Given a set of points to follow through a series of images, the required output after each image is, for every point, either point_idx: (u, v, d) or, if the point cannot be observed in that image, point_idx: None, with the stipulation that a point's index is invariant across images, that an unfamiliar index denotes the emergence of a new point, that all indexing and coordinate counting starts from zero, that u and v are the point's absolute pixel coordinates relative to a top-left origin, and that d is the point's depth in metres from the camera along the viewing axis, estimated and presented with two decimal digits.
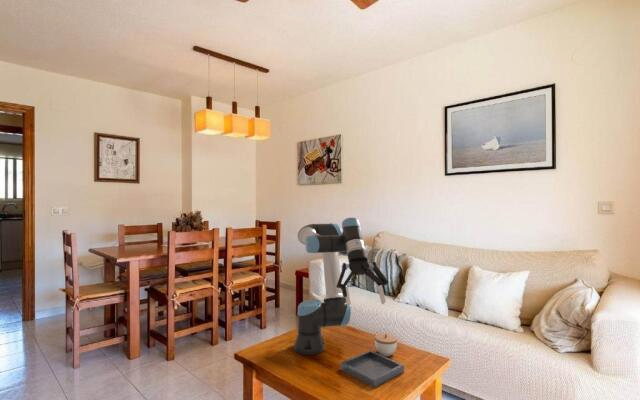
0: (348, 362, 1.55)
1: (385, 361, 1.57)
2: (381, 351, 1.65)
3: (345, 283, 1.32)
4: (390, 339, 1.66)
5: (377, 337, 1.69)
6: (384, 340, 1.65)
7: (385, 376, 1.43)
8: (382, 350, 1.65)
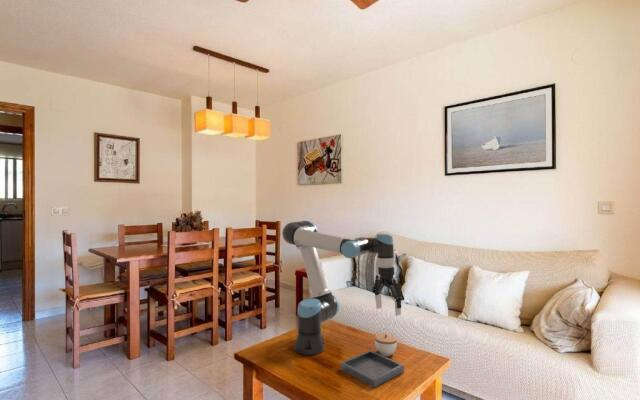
0: (348, 362, 1.55)
1: (385, 361, 1.57)
2: (381, 351, 1.65)
3: None
4: (390, 339, 1.66)
5: (377, 337, 1.69)
6: (384, 340, 1.65)
7: (385, 376, 1.43)
8: (382, 350, 1.65)
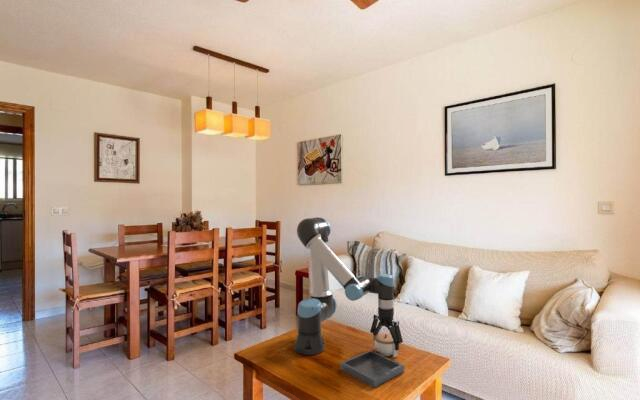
0: (348, 362, 1.55)
1: (385, 361, 1.57)
2: (381, 351, 1.65)
3: None
4: (390, 339, 1.66)
5: (377, 337, 1.69)
6: (384, 340, 1.65)
7: (385, 376, 1.43)
8: (382, 350, 1.65)
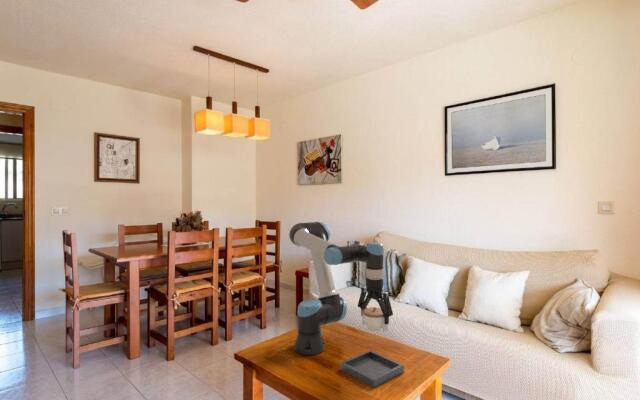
0: (348, 362, 1.55)
1: (385, 361, 1.57)
2: (369, 325, 1.51)
3: None
4: (379, 312, 1.52)
5: (365, 311, 1.54)
6: (373, 313, 1.51)
7: (385, 376, 1.43)
8: (371, 324, 1.50)
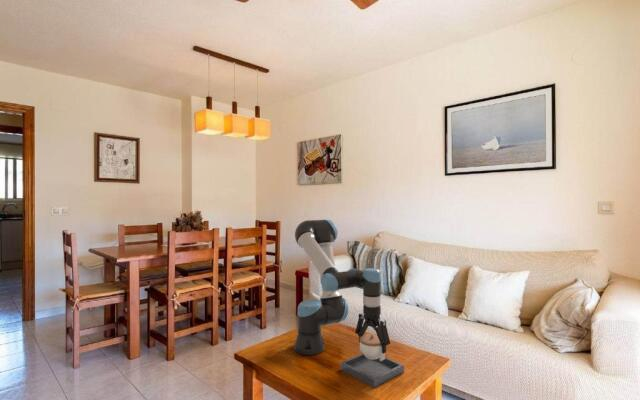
0: (348, 362, 1.55)
1: (385, 361, 1.57)
2: (366, 354, 1.48)
3: None
4: (376, 340, 1.49)
5: (362, 338, 1.52)
6: (370, 342, 1.48)
7: (385, 376, 1.43)
8: (367, 353, 1.48)
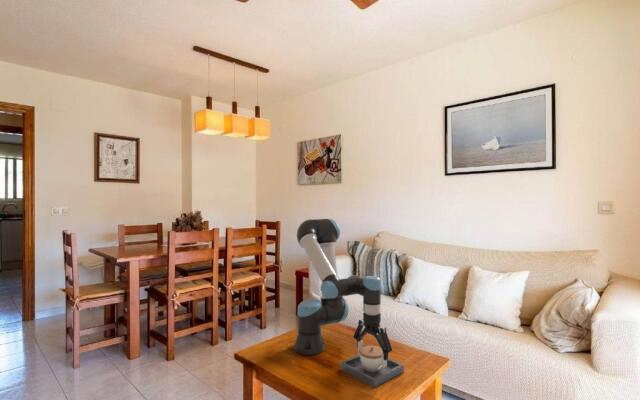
0: (348, 362, 1.55)
1: None
2: (366, 366, 1.48)
3: None
4: (376, 353, 1.49)
5: (362, 350, 1.52)
6: (369, 354, 1.48)
7: (385, 376, 1.43)
8: (367, 365, 1.48)
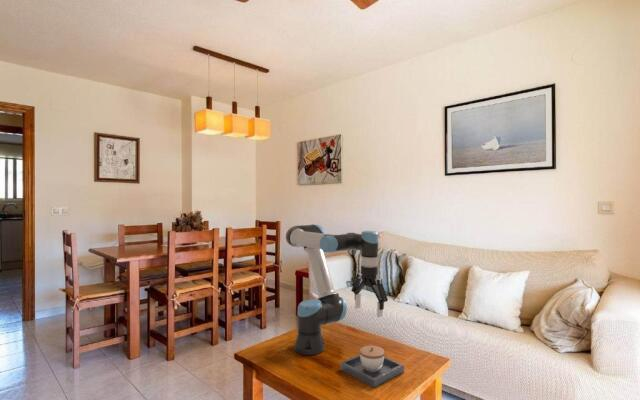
0: (348, 362, 1.55)
1: (385, 361, 1.57)
2: (366, 366, 1.48)
3: None
4: (376, 353, 1.49)
5: (362, 350, 1.52)
6: (370, 354, 1.48)
7: (385, 376, 1.43)
8: (367, 365, 1.48)
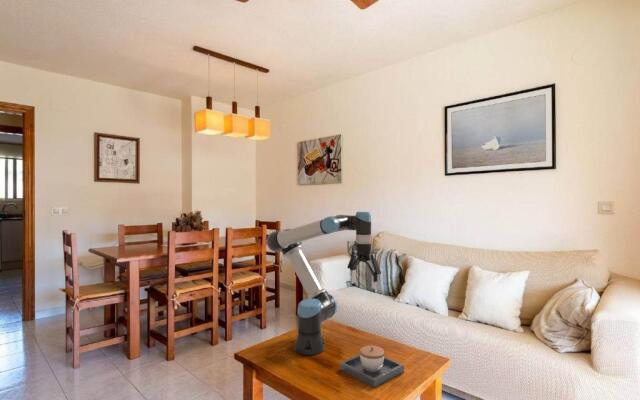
0: (348, 362, 1.55)
1: (385, 361, 1.57)
2: (366, 366, 1.48)
3: None
4: (376, 353, 1.49)
5: (362, 350, 1.52)
6: (370, 354, 1.48)
7: (385, 376, 1.43)
8: (367, 365, 1.48)
